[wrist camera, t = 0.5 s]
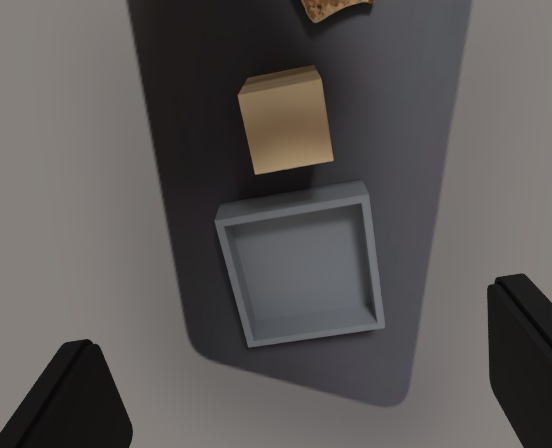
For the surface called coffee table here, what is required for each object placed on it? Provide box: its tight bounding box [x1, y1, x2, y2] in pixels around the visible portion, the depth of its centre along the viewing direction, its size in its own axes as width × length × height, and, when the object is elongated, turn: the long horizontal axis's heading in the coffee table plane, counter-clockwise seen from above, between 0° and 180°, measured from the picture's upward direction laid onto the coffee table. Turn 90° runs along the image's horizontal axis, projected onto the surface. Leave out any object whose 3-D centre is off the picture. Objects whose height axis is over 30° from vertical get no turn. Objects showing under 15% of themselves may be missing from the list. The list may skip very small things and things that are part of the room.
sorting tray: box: [214, 179, 385, 348], centre depth 40 cm, size 12×12×4 cm
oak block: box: [238, 65, 334, 175], centre depth 33 cm, size 5×5×8 cm
